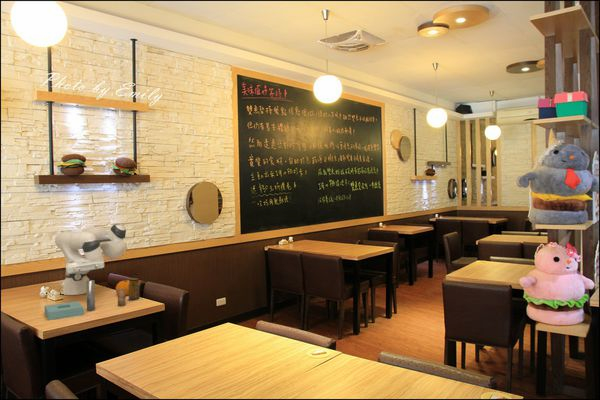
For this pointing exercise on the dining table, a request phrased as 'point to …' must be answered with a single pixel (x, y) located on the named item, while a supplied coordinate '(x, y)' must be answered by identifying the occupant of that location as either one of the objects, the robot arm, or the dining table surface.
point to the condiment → (134, 289)
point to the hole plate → (63, 310)
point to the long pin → (90, 295)
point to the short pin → (121, 297)
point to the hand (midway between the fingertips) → (87, 268)
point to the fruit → (123, 286)
